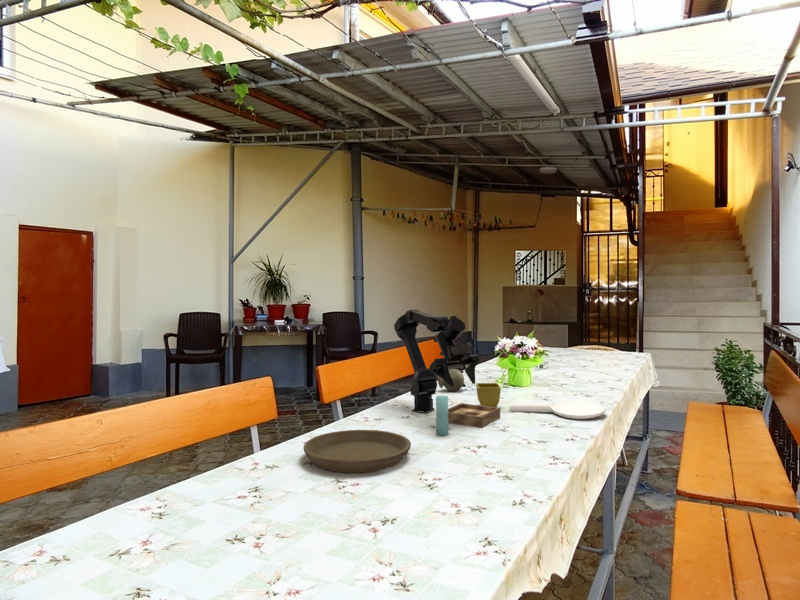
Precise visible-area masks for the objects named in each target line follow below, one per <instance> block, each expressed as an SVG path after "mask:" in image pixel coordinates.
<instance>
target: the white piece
mask: <svg viewBox="0 0 800 600" xmlns="http://www.w3.org/2000/svg"><path fill="white" fill-rule="evenodd" d="M508 407H509V409H508V411H509V412H511V413H512V412H516V413H520V412H522V413H523V412H524V413H525V412H526V413H527V412H529V413H532V412H533V413H554V414H555V415H558V416H559V417H561V418H562V417H563V418H566V419H571V420H586V419H593V418H598V417H600V416H601V415H603V414H605V413H606V407H605V405H603V404H601V403H599V402H595V401H591V400H583V399H579V400H577V399H576V400H573V399H572V400H564V401H560V402H556V403H554V404H553V405H551V404H550V403H548V402H535V403H534V402H529V403H528V402H520V403H519V402H517V403H516V402H514V403H513V402H511V403H510V402H509V404H508Z"/></svg>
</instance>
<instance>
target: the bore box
mask: <svg viewBox="0 0 800 600" xmlns="http://www.w3.org/2000/svg"><path fill="white" fill-rule="evenodd" d="M500 418H501V407H488V406H481V405H478V404H471V403H465V402H464V403H463V402H460V403H459V404H456V405H454V406H452V407H448V424H449V423H450V424H456V425H460V426H461V425H462V426H469V427H475V428H476V427H477V428H484V427H486V426H488V425H489V424H491V423H493V422H495V421H497V420H499V419H500Z"/></svg>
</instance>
